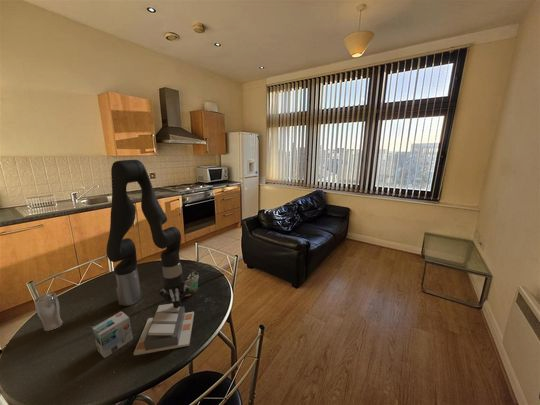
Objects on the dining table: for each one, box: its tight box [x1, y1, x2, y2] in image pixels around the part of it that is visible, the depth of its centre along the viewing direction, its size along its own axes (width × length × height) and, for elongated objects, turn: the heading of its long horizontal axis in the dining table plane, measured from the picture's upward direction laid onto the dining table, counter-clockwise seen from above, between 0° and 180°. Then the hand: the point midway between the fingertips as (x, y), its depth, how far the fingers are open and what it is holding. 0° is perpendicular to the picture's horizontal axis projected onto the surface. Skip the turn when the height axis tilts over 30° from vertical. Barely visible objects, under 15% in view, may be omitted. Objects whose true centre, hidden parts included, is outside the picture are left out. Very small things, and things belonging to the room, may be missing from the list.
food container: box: [182, 269, 200, 298], centre depth 119 cm, size 12×6×10 cm, turn 179°
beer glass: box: [34, 292, 64, 332], centre depth 95 cm, size 7×7×15 cm
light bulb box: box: [92, 311, 133, 359], centre depth 87 cm, size 11×7×11 cm, turn 148°
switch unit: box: [133, 305, 195, 356], centre depth 93 cm, size 20×18×6 cm
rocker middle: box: [153, 312, 178, 324], centre depth 92 cm, size 9×4×1 cm, turn 103°
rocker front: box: [148, 324, 176, 335], centre depth 87 cm, size 9×4×1 cm, turn 103°
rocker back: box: [155, 302, 181, 313], centre depth 98 cm, size 9×4×1 cm, turn 102°
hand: (177, 306), depth 99 cm, fingers closed
